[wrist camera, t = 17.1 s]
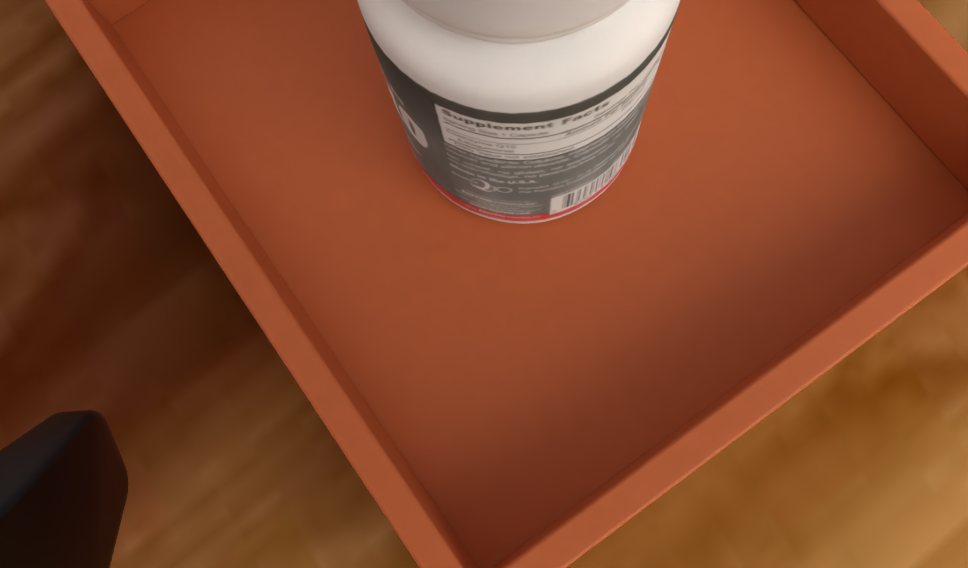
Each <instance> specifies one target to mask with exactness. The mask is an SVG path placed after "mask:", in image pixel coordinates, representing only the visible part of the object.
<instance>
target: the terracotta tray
mask: <svg viewBox="0 0 968 568" xmlns="http://www.w3.org/2000/svg"><path fill="white" fill-rule="evenodd" d="M45 2H46V3H47V5H48V6H49V8H50V9H51V11H52V12H53V14H54V15H55V17H56V19H57V20H58V22H59V23H60V25H61V26H62V28H63V29H64V31H65V32H66V34H67V35H68V37H69V38H70V40H71V41H72V43H73V44H74V46H75V47H76V49H77V50H78V52H79V53H80V55H81V56H82V58H83V59H84V61H85V62H86V64H87V65H88V67H89V68H90V70H91V72H92V73H93V75H94V76H95V78H96V79H97V81H98V82H99V84H100V85H101V87H102V88H103V90H104V91H105V93H106V94H107V96H108V97H109V99H110V100H111V102H112V103H113V105H114V106H115V108H116V109H117V111H118V112H119V114H120V115H121V117H122V118H123V120H124V121H125V123H126V125H127V126H128V128H129V129H130V131H131V132H132V134H133V135H134V137H135V138H136V140H137V141H138V143H139V144H140V146H141V147H142V149H143V150H144V152H145V153H146V155H147V156H148V158H149V159H150V161H151V162H152V164H153V165H154V167H155V168H156V170H157V171H158V173H159V174H160V176H161V178H162V179H163V181H164V182H165V184H166V185H167V187H168V188H169V190H170V191H171V193H172V194H173V196H174V197H175V199H176V200H177V202H178V203H179V205H180V206H181V208H182V209H183V211H184V212H185V214H186V215H187V217H188V218H189V220H190V221H191V223H192V224H193V226H194V227H195V229H196V231H197V232H198V234H199V235H200V237H201V238H202V240H203V241H204V243H205V244H206V246H207V247H208V249H209V250H210V252H211V253H212V255H213V256H214V258H215V259H216V261H217V262H218V264H219V265H220V267H221V268H222V270H223V271H224V273H225V274H226V276H227V277H228V279H229V280H230V282H231V284H232V285H233V287H234V288H235V290H236V291H237V293H238V294H239V296H240V297H241V299H242V300H243V302H244V303H245V305H246V306H247V308H248V309H249V311H250V312H251V314H252V315H253V317H254V318H255V320H256V321H257V323H258V324H259V326H260V327H261V329H262V330H263V332H264V333H265V335H266V337H267V338H268V340H269V341H270V343H271V344H272V346H273V347H274V349H275V350H276V352H277V353H278V355H279V356H280V358H281V359H282V361H283V362H284V364H285V365H286V367H287V368H288V370H289V371H290V373H291V374H292V376H293V377H294V379H295V380H296V382H297V383H298V385H299V386H300V388H301V390H302V391H303V393H304V394H305V396H306V397H307V399H308V400H309V402H310V403H311V405H312V406H313V408H314V409H315V411H316V412H317V414H318V415H319V417H320V418H321V420H322V421H323V423H324V424H325V426H326V427H327V429H328V430H329V432H330V433H331V435H332V436H333V438H334V439H335V441H336V443H337V444H338V446H339V447H340V449H341V450H342V452H343V453H344V455H345V456H346V458H347V459H348V461H349V462H350V464H351V465H352V467H353V468H354V470H355V471H356V473H357V474H358V476H359V477H360V479H361V480H362V482H363V483H364V485H365V486H366V488H367V489H368V491H369V492H370V494H371V496H372V497H373V499H374V500H375V502H376V503H377V505H378V506H379V508H380V509H381V511H382V512H383V514H384V515H385V517H386V518H387V520H388V521H389V523H390V524H391V526H392V527H393V529H394V530H395V532H396V533H397V535H398V536H399V538H400V539H401V541H402V542H403V544H404V545H405V547H406V549H407V550H408V552H409V553H410V555H411V556H412V558H413V559H414V561H415V562H416V564H417V565H418V567H419V568H566V567H568V566H569V565H570V564H572V563H573V562H574V561H576V560H577V559H578V558H580V557H581V556H582V555H583V554H585V553H586V552H587V551H589V550H590V549H591V548H593V547H594V546H595V545H597V544H598V543H599V542H601V541H602V540H603V539H605V538H606V537H607V536H609V535H610V534H611V533H613V532H614V531H615V530H617V529H618V528H619V527H621V526H622V525H623V524H625V523H626V522H627V521H629V520H630V519H631V518H633V517H634V516H635V515H637V514H638V513H639V512H641V511H642V510H643V509H645V508H646V507H647V506H649V505H650V504H651V503H653V502H654V501H655V500H657V499H658V498H659V497H661V496H662V495H663V494H665V493H666V492H667V491H669V490H670V489H671V488H673V487H674V486H675V485H677V484H678V483H679V482H681V481H682V480H683V479H685V478H686V477H687V476H689V475H690V474H691V473H692V472H694V471H695V470H696V469H698V468H699V467H700V466H702V465H703V464H704V463H706V462H707V461H708V460H710V459H711V458H712V457H714V456H715V455H716V454H718V453H719V452H720V451H722V450H723V449H724V448H726V447H727V446H728V445H730V444H731V443H732V442H734V441H735V440H736V439H738V438H739V437H740V436H742V435H743V434H744V433H746V432H747V431H748V430H750V429H751V428H752V427H754V426H755V425H756V424H758V423H759V422H760V421H762V420H763V419H764V418H766V417H767V416H768V415H770V414H771V413H772V412H774V411H775V410H776V409H778V408H779V407H780V406H782V405H783V404H784V403H786V402H787V401H788V400H790V399H791V398H792V397H794V396H795V395H796V394H798V393H799V392H800V391H801V390H803V389H804V388H805V387H807V386H808V385H809V384H811V383H812V382H813V381H815V380H816V379H817V378H819V377H820V376H821V375H823V374H824V373H825V372H827V371H828V370H829V369H831V368H832V367H833V366H835V365H836V364H837V363H839V362H840V361H841V360H843V359H844V358H845V357H847V356H848V355H849V354H851V353H852V352H853V351H855V350H856V349H857V348H859V347H860V346H861V345H863V344H864V343H865V342H867V341H868V340H869V339H871V338H872V337H873V336H875V335H876V334H877V333H879V332H880V331H881V330H883V329H884V328H885V327H887V326H888V325H889V324H891V323H892V322H893V321H895V320H896V319H897V318H899V317H900V316H901V315H903V314H904V313H905V312H907V311H908V310H909V309H910V308H912V307H913V306H914V305H916V304H917V303H918V302H920V301H921V300H922V299H924V298H925V297H926V296H928V295H929V294H930V293H932V292H933V291H934V290H936V289H937V288H938V287H940V286H941V285H942V284H944V283H945V282H946V281H948V280H949V279H950V278H952V277H953V276H954V275H956V274H957V273H958V272H960V271H961V270H962V269H964V268H965V267H966V266H968V53H967V52H966V51H965V50H964V48H963V47H962V46H961V45H960V44H959V43H958V42H957V41H956V40H955V39H954V38H953V37H952V36H951V35H950V34H949V33H948V32H947V31H946V30H945V29H944V28H943V26H942V25H941V24H940V23H939V22H938V21H937V20H936V19H935V18H934V17H933V16H932V15H931V14H930V13H929V12H928V11H927V10H926V9H925V8H924V7H923V6H922V5H921V3H920V2H919V1H918V0H680V4H679V7H678V11H677V14H676V16H675V19H674V22H673V25H672V28H671V30H670V33H669V36H668V39H667V42H666V46H665V49H664V52H663V54H662V57H661V60H660V63H659V66H658V69H657V72H656V75H655V79H654V82H653V85H652V88H651V91H650V94H649V97H648V100H647V103H646V106H645V109H644V112H643V116H642V120H641V123H640V127H639V131H638V134H637V138H636V141H635V145H634V147H633V149H632V152H631V154H630V156H629V158H628V160H627V162H626V164H625V166H624V167H623V169H622V170H621V172H620V173H619V175H618V176H617V178H616V179H615V180H614V181H613V182H612V184H611V185H610V186H609V187H608V188H607V189H606V190H605V191H604V192H603V193H602V194H600V195H599V196H598V197H597V198H595V199H594V200H593V201H591V202H590V203H588V204H587V205H585V206H584V207H582V208H580V209H578V210H577V211H575V212H572V213H570V214H568V215H566V216H563V217H560V218H557V219H553V220H549V221H545V222H539V223H529V224H519V223H507V222H501V221H496V220H492V219H488V218H485V217H482V216H479V215H476V214H474V213H472V212H469V211H467V210H465V209H463V208H461V207H460V206H458V205H456V204H455V203H453V202H452V201H450V200H449V199H448V198H446V197H445V196H444V195H443V194H442V193H441V192H440V191H439V190H438V189H437V188H436V187H435V186H434V185H433V184H432V183H431V182H430V180H429V179H428V178H427V176H426V175H425V173H424V172H423V170H422V169H421V167H420V166H419V164H418V162H417V160H416V158H415V156H414V155H413V152H412V150H411V147H410V144H409V142H408V139H407V135H406V132H405V129H404V127H403V125H402V122H401V119H400V116H399V113H398V111H397V108H396V106H395V104H394V101H393V98H392V96H391V94H390V91H389V88H388V85H387V82H386V79H385V76H384V74H383V71H382V69H381V66H380V63H379V61H378V58H377V55H376V53H375V50H374V47H373V44H372V42H371V39H370V36H369V34H368V31H367V28H366V25H365V23H364V20H363V17H362V13H361V10H360V7H359V4H358V1H357V0H45Z"/></svg>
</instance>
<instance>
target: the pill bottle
mask: <svg viewBox="0 0 968 568" xmlns="http://www.w3.org/2000/svg"><path fill="white" fill-rule="evenodd" d="M357 1H358V4H359V7H360V10H361V13H362V17H363V20H364V23H365V25H366V28H367V31H368V34H369V36H370V39H371V42H372V44H373V47H374V50H375V53H376V55H377V58H378V61H379V63H380V66H381V69H382V71H383V74H384V76H385V79H386V82H387V85H388V88H389V91H390V94H391V96H392V98H393V101H394V104H395V106H396V108H397V111H398V113H399V116H400V119H401V122H402V125H403V127H404V129H405V132H406V135H407V139H408V142H409V144H410V147H411V150H412V152H413V155H414V156H415V158H416V160H417V162H418V164H419V166H420V167H421V169H422V170H423V172H424V173H425V175H426V176H427V178H428V179H429V180H430V182H431V183H432V184H433V185H434V186H435V187H436V188H437V189H438V190H439V191H440V192H441V193H442V194H443V195H444V196H445V197H446V198H448V199H449V200H450V201H452V202H453V203H455V204H456V205H458V206H460V207H461V208H463V209H465V210H467V211H469V212H472V213H474V214H476V215H479V216H482V217H485V218H488V219H492V220H496V221H501V222H507V223H519V224H529V223H539V222H545V221H549V220H553V219H557V218H560V217H563V216H566V215H568V214H570V213H572V212H575V211H577V210H578V209H580V208H582V207H584V206H585V205H587V204H588V203H590V202H591V201H593V200H594V199H595V198H597V197H598V196H599V195H600V194H602V193H603V192H604V191H605V190H606V189H607V188H608V187H609V186H610V185H611V184H612V182H613V181H614V180H615V179H616V178H617V176H618V175H619V173H620V172H621V170H622V169H623V167H624V166H625V164H626V162H627V160H628V158H629V156H630V154H631V152H632V149H633V147H634V145H635V141H636V138H637V134H638V131H639V127H640V123H641V120H642V116H643V112H644V109H645V106H646V103H647V100H648V97H649V94H650V91H651V88H652V85H653V82H654V79H655V75H656V72H657V69H658V66H659V63H660V60H661V57H662V54H663V52H664V49H665V46H666V42H667V39H668V36H669V33H670V30H671V28H672V25H673V22H674V19H675V16H676V14H677V11H678V7H679V4H680V0H357Z"/></svg>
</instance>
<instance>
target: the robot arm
mask: <svg viewBox="0 0 968 568" xmlns="http://www.w3.org/2000/svg"><path fill="white" fill-rule="evenodd" d="M127 493H128V475H127V471H126V467H125V465H124V463H123V460H122V458H121V455H120V453H119V450H118V448H117V445H116V443H115V440H114V438H113V436H112V433H111V431H110V428H109V426H108V423H107V421H106V420H105V418H104V417H103V416H102V415H101V414H100V413H99V412H96V411H93V410H88V411H72V412H61V413H56V414H54V415H52V416H50V417H49V418H47V419H46V420H44V421H43V422H41V423H40V424H38V425H37V426H36V427H34V428H33V429H31V430H30V431H28V432H27V433H25V434H24V435H22V436H21V437H20V438H18V439H17V440H15V441H14V442H12V443H11V444H9V445H8V446H6V447H5V448H3V449H2V450H1V451H0V568H110V564H111V559H112V555H113V551H114V547H115V543H116V539H117V535H118V531H119V527H120V523H121V519H122V515H123V511H124V506H125V502H126V498H127Z"/></svg>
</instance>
